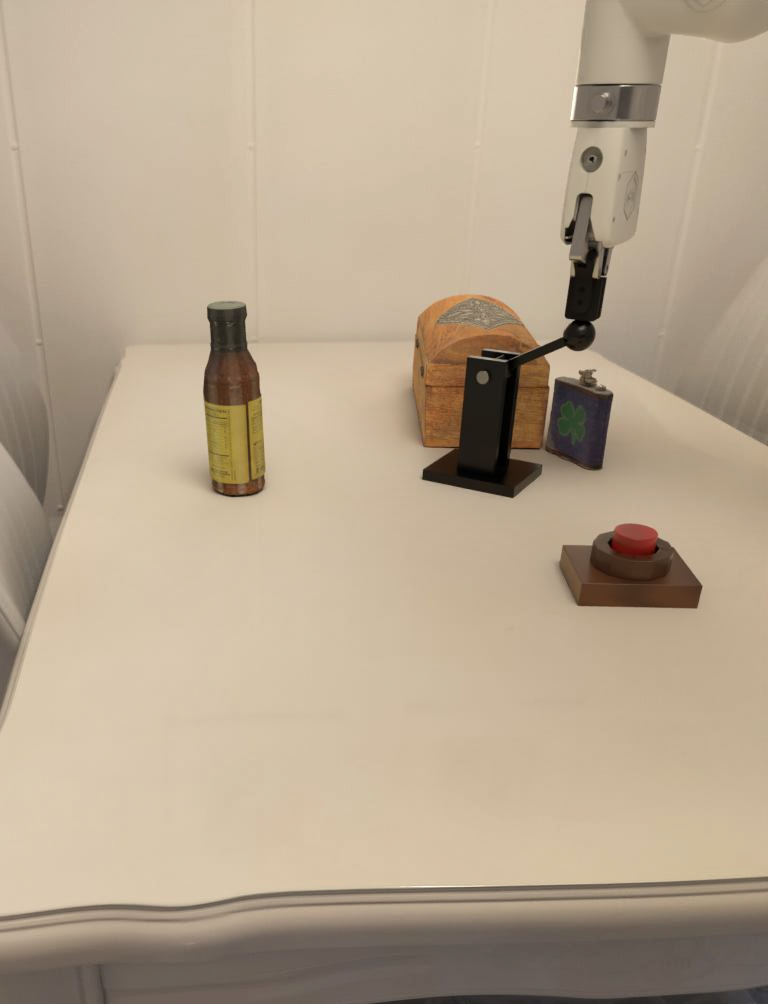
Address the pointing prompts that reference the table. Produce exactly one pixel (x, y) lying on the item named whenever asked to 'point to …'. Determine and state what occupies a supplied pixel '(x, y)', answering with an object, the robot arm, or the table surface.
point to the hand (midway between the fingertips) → (582, 318)
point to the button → (634, 539)
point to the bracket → (486, 432)
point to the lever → (558, 343)
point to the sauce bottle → (233, 404)
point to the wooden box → (442, 367)
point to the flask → (579, 420)
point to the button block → (628, 576)
